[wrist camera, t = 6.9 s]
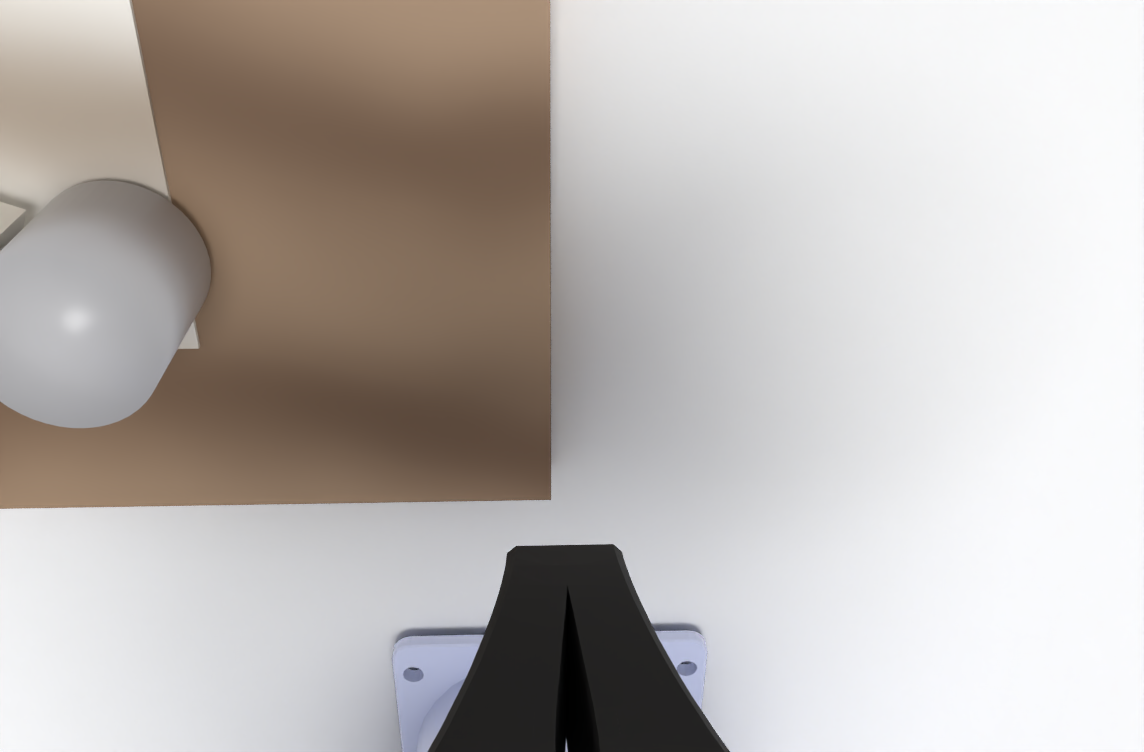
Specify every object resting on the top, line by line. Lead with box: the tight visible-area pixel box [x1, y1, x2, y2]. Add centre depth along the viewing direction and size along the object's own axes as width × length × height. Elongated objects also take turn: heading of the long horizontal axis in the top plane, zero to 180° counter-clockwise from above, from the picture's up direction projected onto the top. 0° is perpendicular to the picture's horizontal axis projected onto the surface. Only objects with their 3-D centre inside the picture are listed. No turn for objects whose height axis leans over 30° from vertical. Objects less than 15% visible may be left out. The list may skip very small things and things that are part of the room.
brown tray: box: [0, 0, 551, 509], centre depth 19 cm, size 18×18×1 cm
